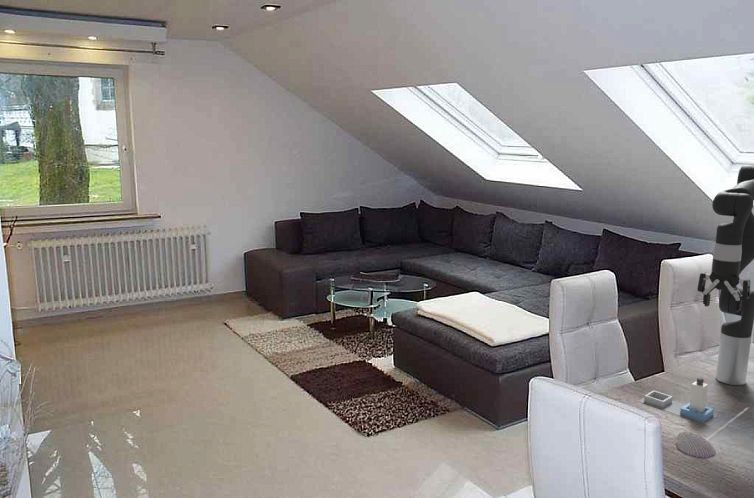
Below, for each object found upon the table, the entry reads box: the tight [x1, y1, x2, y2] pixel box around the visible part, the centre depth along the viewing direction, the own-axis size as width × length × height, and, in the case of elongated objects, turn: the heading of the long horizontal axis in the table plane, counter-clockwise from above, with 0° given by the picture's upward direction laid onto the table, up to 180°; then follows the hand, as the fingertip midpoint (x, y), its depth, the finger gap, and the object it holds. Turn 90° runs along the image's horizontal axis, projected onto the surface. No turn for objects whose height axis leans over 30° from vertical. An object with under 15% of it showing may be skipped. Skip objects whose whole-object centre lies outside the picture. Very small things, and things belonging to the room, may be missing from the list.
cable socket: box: [637, 390, 719, 425], centre depth 194 cm, size 21×9×4 cm, turn 41°
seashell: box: [675, 430, 716, 458], centre depth 172 cm, size 10×6×10 cm
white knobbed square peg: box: [689, 377, 709, 414], centre depth 189 cm, size 3×3×12 cm
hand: (721, 308), depth 192 cm, fingers open, 8 cm apart
